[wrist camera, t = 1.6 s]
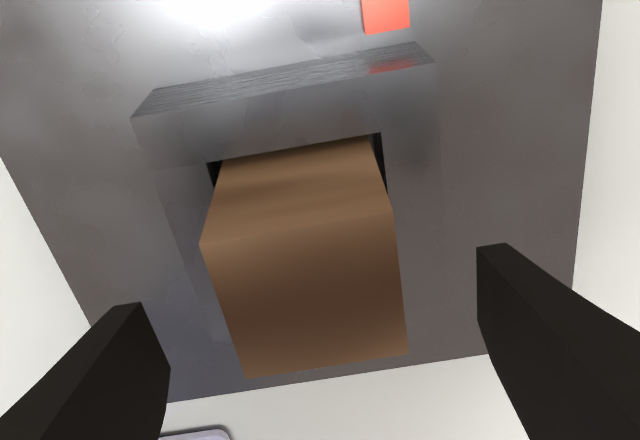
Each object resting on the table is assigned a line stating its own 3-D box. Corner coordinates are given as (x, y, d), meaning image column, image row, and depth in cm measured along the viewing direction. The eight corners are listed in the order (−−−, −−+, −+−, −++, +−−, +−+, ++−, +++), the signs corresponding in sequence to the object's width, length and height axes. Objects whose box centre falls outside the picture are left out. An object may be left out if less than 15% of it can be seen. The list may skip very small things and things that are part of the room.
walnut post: (376, 229, 17) (409, 353, 12) (259, 248, 17) (246, 379, 12) (361, 116, 15) (393, 211, 10) (228, 139, 15) (198, 244, 10)
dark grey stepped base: (555, 324, 22) (598, 390, 18) (140, 389, 22) (116, 462, 19) (604, -228, 12) (705, -275, 9) (-100, -83, 13) (-216, -83, 10)
